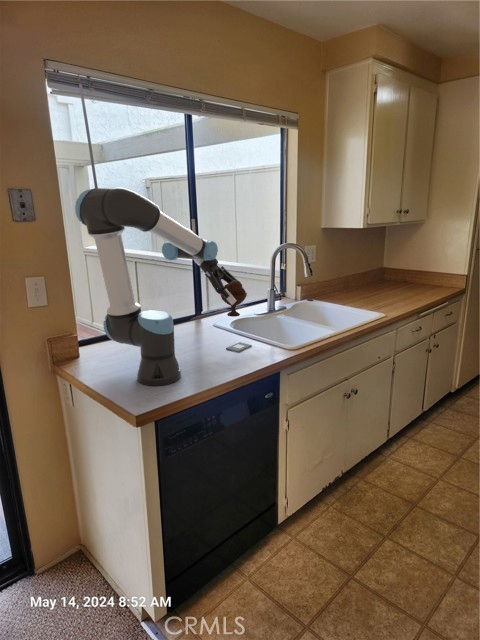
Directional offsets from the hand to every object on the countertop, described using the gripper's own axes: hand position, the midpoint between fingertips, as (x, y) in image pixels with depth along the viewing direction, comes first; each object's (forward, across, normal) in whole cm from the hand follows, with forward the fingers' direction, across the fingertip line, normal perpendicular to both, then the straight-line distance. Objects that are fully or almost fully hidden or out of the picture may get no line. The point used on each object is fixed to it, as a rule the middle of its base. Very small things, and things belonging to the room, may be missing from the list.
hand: (239, 300), depth 170 cm
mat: (+15, 0, -15) cm, 21 cm away
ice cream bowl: (+3, 0, -7) cm, 7 cm away
